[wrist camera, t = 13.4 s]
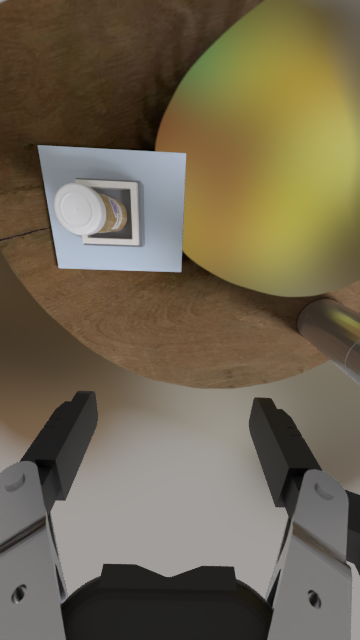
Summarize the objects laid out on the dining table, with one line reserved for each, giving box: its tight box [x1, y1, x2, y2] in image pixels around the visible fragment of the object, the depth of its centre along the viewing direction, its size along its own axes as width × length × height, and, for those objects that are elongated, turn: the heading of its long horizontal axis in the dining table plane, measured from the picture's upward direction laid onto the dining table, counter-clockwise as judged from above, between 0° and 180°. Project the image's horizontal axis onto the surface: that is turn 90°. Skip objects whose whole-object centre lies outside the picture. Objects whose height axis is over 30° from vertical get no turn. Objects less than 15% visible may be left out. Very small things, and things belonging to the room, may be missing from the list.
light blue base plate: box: [38, 145, 186, 272], centre depth 35 cm, size 22×18×6 cm
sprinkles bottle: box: [53, 183, 127, 235], centre depth 27 cm, size 5×5×13 cm
